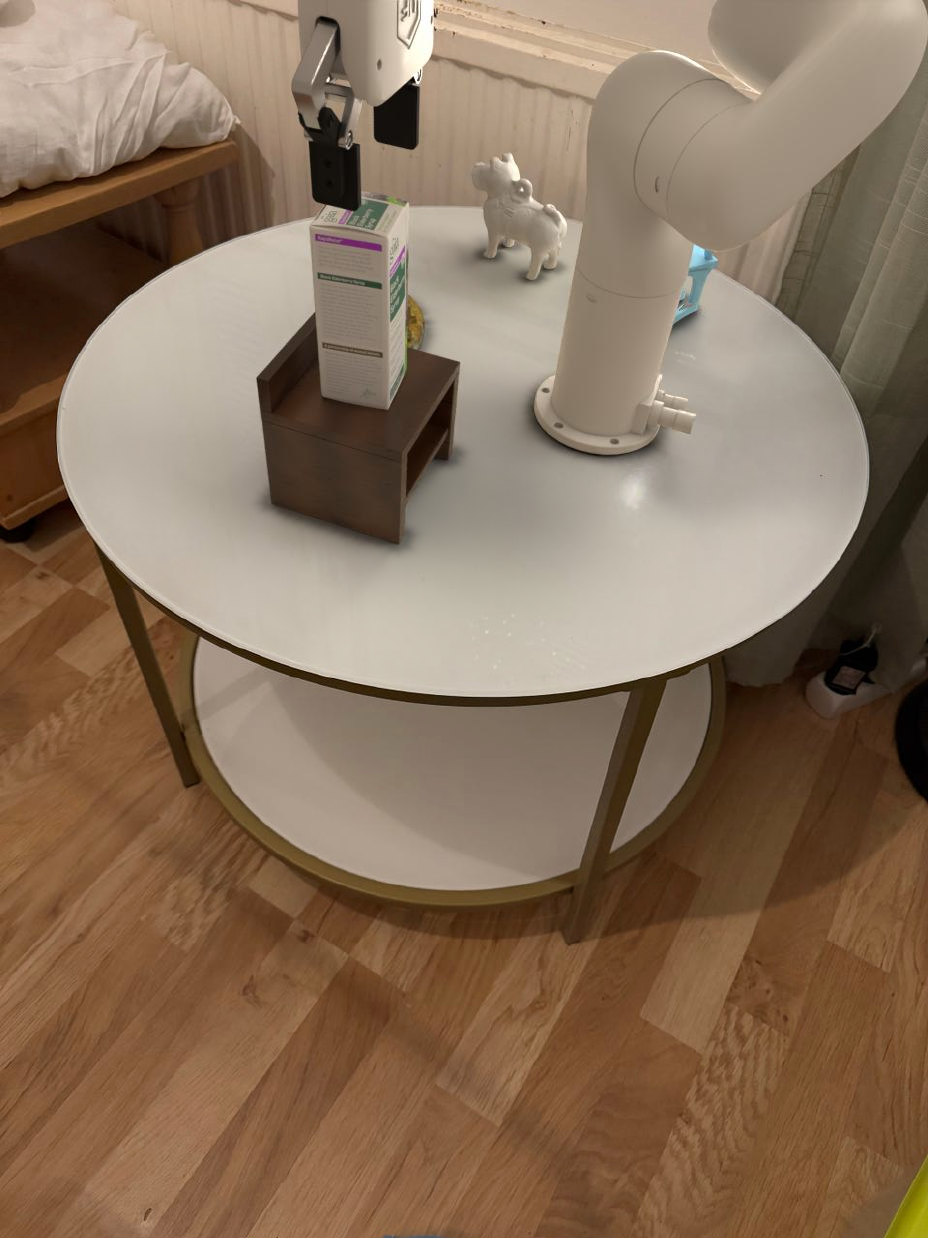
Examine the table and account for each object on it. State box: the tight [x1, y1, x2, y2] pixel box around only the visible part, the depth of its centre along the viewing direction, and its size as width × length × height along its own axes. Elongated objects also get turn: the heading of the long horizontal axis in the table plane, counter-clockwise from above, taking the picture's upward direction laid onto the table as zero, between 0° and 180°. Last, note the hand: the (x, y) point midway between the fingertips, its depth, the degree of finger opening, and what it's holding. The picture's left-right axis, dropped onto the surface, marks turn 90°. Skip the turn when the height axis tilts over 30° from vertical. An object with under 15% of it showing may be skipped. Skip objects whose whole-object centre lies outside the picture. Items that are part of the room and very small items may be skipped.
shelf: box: [255, 311, 461, 545], centre depth 76 cm, size 12×13×13 cm
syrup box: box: [308, 190, 410, 410], centre depth 68 cm, size 6×6×14 cm
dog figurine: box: [471, 152, 568, 281], centre depth 104 cm, size 5×13×11 cm, turn 50°
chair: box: [673, 244, 720, 325], centre depth 98 cm, size 8×8×12 cm
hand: (368, 173), depth 61 cm, fingers open, 9 cm apart
